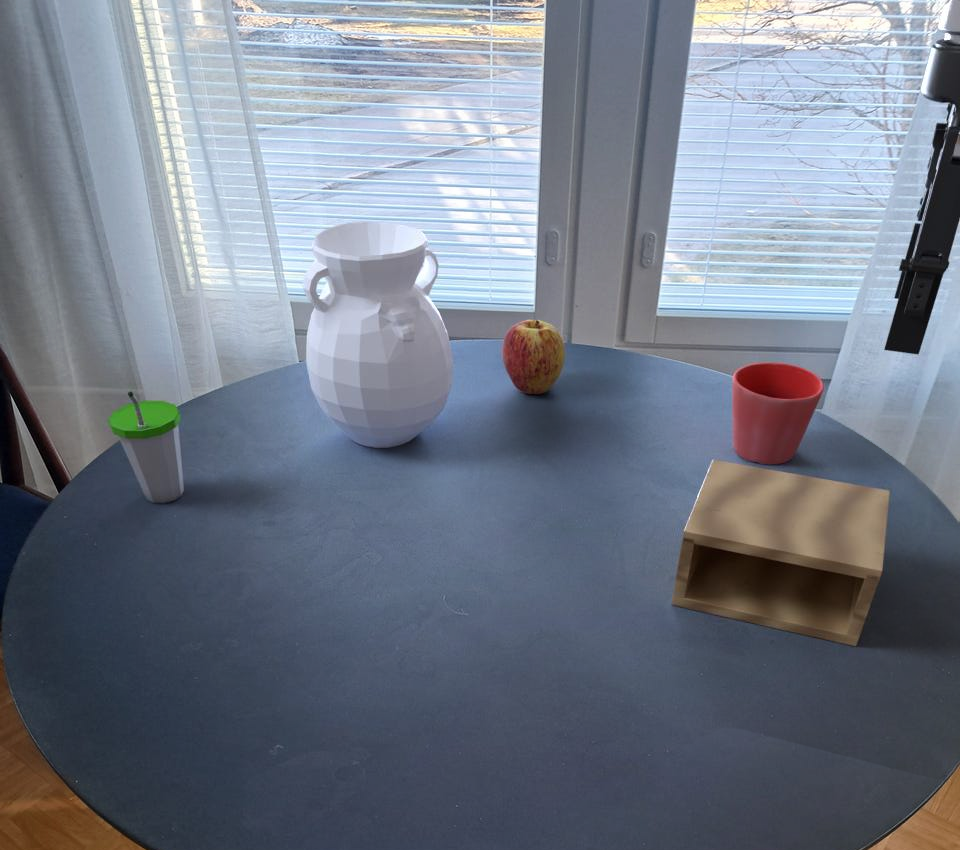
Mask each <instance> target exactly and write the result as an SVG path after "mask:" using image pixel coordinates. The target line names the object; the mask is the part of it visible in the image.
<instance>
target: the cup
mask: <svg viewBox="0 0 960 850" xmlns="http://www.w3.org/2000/svg"><path fill="white" fill-rule="evenodd" d="M127 396H128V397H129V399H130V400H131V402H132V403H129V404H126V405H124V406H122V407H119V408H118V409H116V410H114V411H113V412H112V413H111V415H110V416H109V417H108V418H107V421H108V424H109V427H110V429H111V431H112V433H113V435H116V436H118V439H119V441H120V443H121V445H122V448H123V450H124V453H125V454H126V457H127V459H128V461H129V464H130V465H131V468H132V471H133V472H134V475H135V477H136V479H137V481H138V483H139V486H140V488H141V490H142V492H143V495H144V497H145V499H146V501H147V500H148V502H150V503H152V504H167V503H166V502H168V503H171V502H175V501H176V500H178V499H180V498H182V496H183V495H184V493H183V492H185V485H184V474H183V464H182V463H183V461H182V453H181V443H180V442H181V441H180V431H179V423H180V421H181V420H182V418H181V413H180V411H179V409H178V407H177V405H176V404H174V403H170V402H167V401H165V400H143V401H138V398H137V397H136V396H135V394H134V392H133V391H131V390H130V391H128V392H127ZM182 494H183V495H182ZM179 497H180V498H179Z"/></svg>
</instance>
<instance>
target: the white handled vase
mask: <svg viewBox="0 0 960 850" xmlns="http://www.w3.org/2000/svg"><path fill="white" fill-rule="evenodd" d="M428 246H429V241H428V239H427V237H426V235H425V234H424V232H422V231H421V230H420V229H419V228H415V227H412V226H409V225H404V224H399V223H393V222H382V221H359V222H348V223H343V224H338V225H334V226H332V227H329V228H327V229H325V230H322V231H321V232H320V233H317V235H315V237H314V239H313V240H312V243H311V246H310V247H311V250H312V252H313V255H314V258H315V259H314V261H313V262H312V264H311V265H310V266H309V268H308V269H307V270H306V272H305V273H304V274H303V279H302V288H303V291H304V295H305V297H306V298H307V299H308V301H309V302H310V304H311V305H312V306H313V310H312V312H311V313H310V318H309V324H308V327H307V331H306V350H305V352H306V353H305V356H306V357H305V358H306V359H305V360H306V369H307V373H308V374H307V375H308V379H309V384H310V388H311V391H312V393H313V395H314V397H315V399H316V401H317V404H318V405H319V407H320V409H321V410H322V411H323V413H324V414H325V415H326V416H327V418H329V420H331V422H332V423H333V424H334V425H335V426H336V427H337V428H338V429H339V430H340V431H342V432H343V433H344V434H345V435H346V436H347V438H349V439H350V440H351V441H353V442H354V443H356V444H358V445H360V446H363V447H368V448H375V449H381V448H382V449H383V448H392V447H393V448H394V447H398V446H402V445H404V444H407V443H409V442H410V441H412V440H413V439H414V438H415V437H417V436H418V435H419V434H421V433H422V432H424V430H426V429H427V428H428V427H429V426H431V425H432V424H433V423H434V421H435V420H436V419H437V418H438V416H439V415H440V414H441V413H442V411H443V410H444V409H445V406H446V405H447V402H448V398H449V395H450V392H451V389H452V386H453V375H454V361H453V355H452V348H451V343H450V338H449V333H448V331H447V328H446V326H445V323H444V319H443V317H442V315H441V313H440V311H439V309H438V308H437V307H436V305H435V304H434V302H433V301H432V299H431V297H430V293H431V291H432V288H433V285H434V284H435V282H436V280H437V278H438V274H439V262H438V259H437V255H436V254H435V253H434V252H433V251H431V249H429V248H428ZM322 278H325V281H326V283H325V285H324V286H323V287H322V290H321V292H320V295H318V292H317V288H318V283H319V282H320V280H322Z"/></svg>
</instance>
